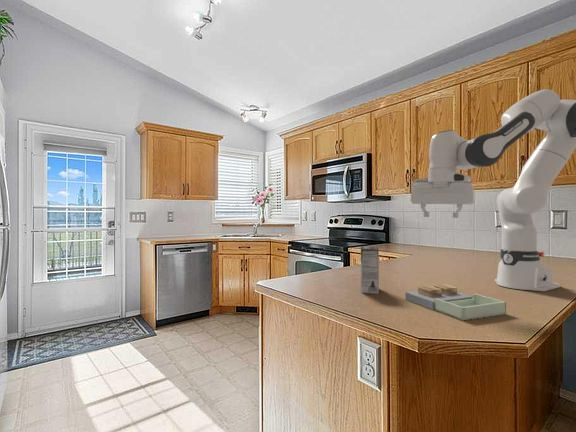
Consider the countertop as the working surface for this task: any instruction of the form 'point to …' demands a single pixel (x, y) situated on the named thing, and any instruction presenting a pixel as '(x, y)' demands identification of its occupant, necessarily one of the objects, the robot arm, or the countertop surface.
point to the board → (429, 301)
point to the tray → (471, 307)
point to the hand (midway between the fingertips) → (440, 217)
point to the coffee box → (369, 270)
